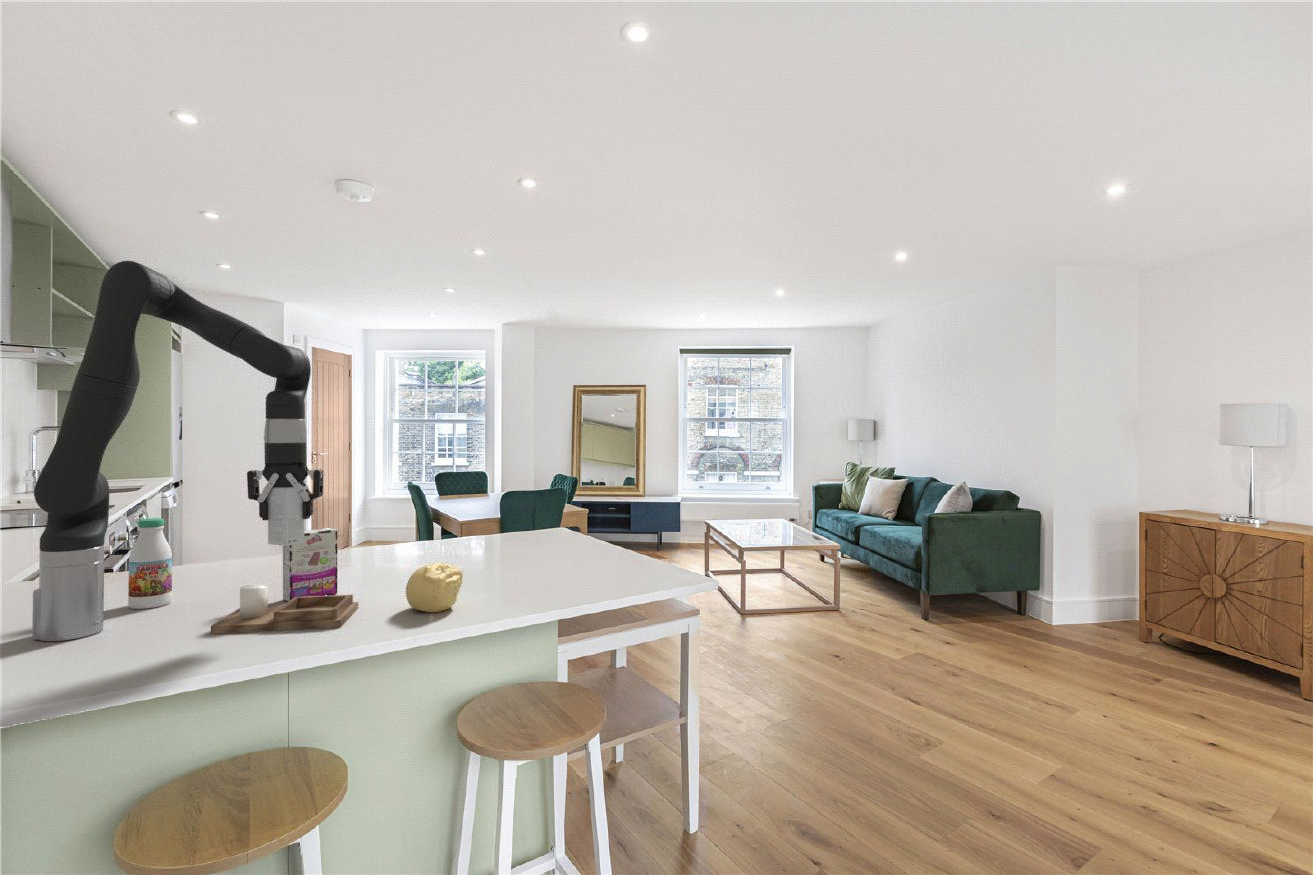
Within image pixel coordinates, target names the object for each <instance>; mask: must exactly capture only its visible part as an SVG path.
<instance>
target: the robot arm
mask: <svg viewBox="0 0 1313 875" xmlns="http://www.w3.org/2000/svg"><path fill="white" fill-rule="evenodd" d="M101 281H102V282H101V284H100V285H101V286H100V289H99V294H98V298H97V299H98V300H97V304H96V305H97V306H96V311H95V314H94V315H95V316H94V320H93V324H92V329H91V332H90V335H89V338H88V341H87V344H86V347H85V351H84V355H83V358H82V359H81V363H80V365H79V368H78V370H77V372H76V373H77V374H76V376H75V378H74V381H73V385H72V387H71V391H70V394H69V396H68V397H69V399H68V402H67V404H66V407H65V410H64V413H63V416H62V420H61V424H60V427H59V428H60V429H59V433H58V435H57V439H56V440H55V444H54V446H53V448H52V450H51V453H50V454H49V456H48V458H47V460H46V463H45V464H44V467H43V468H42V470H41V472H40V474H39V476H38V477H37V480H36V482H35V484H34V488H33V498H34V500H35V502H36V505H37V506H38V507H39V508H40V509H42V511H44V512H46V513H47V519H46V520H47V521H46V524H45V528H44V531H42V534H41V536H40V537H39V560H38V561H39V564H38V565H39V570H38V571H39V572H38V573H39V574H38V576H39V578H38V581H39V583H38V584H39V586H38V588H37V589H34V590H33V592H32V620H31V621H32V625H31V626H32V628H31V629H32V630H31V631H32V632H31V633H32V635H31V639H32V640H33V641H34V640H35V641H36V640H37V641H38V640H39V641H42V642H60V641H62V642H63V641H68V640H75V639H80V638H81V639H82V638H85V637H88V636H92V635H96V634H97V633H99V632H102V631H103V629H104V608H105V607H104V604H105V602H104V600H105V537H106V534H107V531H108V526H109V516H110V513H109V512H110V485H109V481H108V479H107V478H106V476H105V475H104V474H103V473H102V472H101V471H100V469H101V467H102V466H101V465H102V461H103V458H104V454H105V452H106V450H107V448H108V445H109V443H110V441H111V440H112V438H113V437H114V436H115V433H117V431H118V430H119V428H120V427H121V425H122V424H123V422H124V421H125V419H126V417H127V415H128V414H129V412H130V410H131V407H132V405H133V402H134V399H135V397H136V393H137V389H138V387H139V384H140V378H141V371H140V370H141V369H140V365H139V359H138V353H137V348H136V331H137V327H138V324H139V321H140V318H141V315H146V316H152V317H153V318H154V317H155V318H158V319H161V320H165V321H167V322H171V323H173V324H176V325H178V326H181V327H183V328H185V329H187V330H189V331H191V332H193V333H195V335H197V336H198V337H200V338H202V339H203V340H205V341H206V342H208V343H210V344H211V345H213V346H214V347H217V348H218V349H220V350H222V351H224V352H226V353H228V354H230V355H232V356H235V357H236V358H238V359H241V360H243V361H244V362H245V363H247V364H248V365H250V366H251V367H253V369H255V370H257V371H259V372H261V373H262V374H264V375H267V376H269V377H272V378H274V379H275V386H274V389H273V390H271V391H270V392H268V393H267V394H266V397H265V423H264V431H263V434H264V435H263V441H264V467H263V469H262V470H257V469H251V470H248V471H247V472H246V478H247V479H246V480H247V484H246V485H247V498H248V499H249V500H253V501H257V502H258V510H259V511H258V512H259V513H258V514H259V518H260V519H261V521H268V495H269V494H270V492H271V491H272V488H278V487H295V488H296V491H297V492H298V493H299V494H300V495H301V497H302V498H303V500H304V502H303V519H304V520H308V519H311V517H312V516H313V515H314V500H315V499H319V498H321V497H323V495H324V469H322V468H318V469H309V468H308V465H307V458H308V457H307V454H308V453H307V448H308V447H307V446H308V445H307V427H306V426H307V425H306V403H305V399H306V395H307V392H308V388H309V384H310V380H311V375H312V374H311V372H312V369H311V367H312V365H311V361H310V359H309V356H308V355H307V353H306V352H305V351H304V350H302V349H300V348H299V347H298V348H297V347H295V346H290V345H286V344H283V343H281V342H278V341H276V340H274V339H271V338H269V337H267V336H266V335H265V334H264V332H262V331H261V330H259V329H257V328H255V327H253V326H252V325H250V324H248V323H245V321H242V320H240V319H238V318H236V317H234V316H233V315H230V314H227V313H226V312H222V311H220V310H218V309H215V308H213V307H210V306H209V305H207V304H205V303H203V302H201V301H200V300H197V299H196V297H195V298H194V297H193V296H191V295H190V294H189V293H187V292H186V291H185V290H183V289H182V288H180V287H179V286H177V284H175V283H174V282H173V281H171V279H169V278H167V277H166V276H165V275H164V274H162V273H160V272H158V271H156V270H153V269H152V268H149V267H148V266H145V265H144V264H141V263H139V262H136V261H134V260H133V261H132V260H122V261H120V262H116V263H115V264H113V265H112V266H111V267H110V268H109V269H108V270H107V272H106V273H105V274H104V277H103V279H102V280H101ZM308 476H309V478H310V479H311V480H312V492H311V490H310V488H309V486H308V485H307V484H306V482H305V479H307V477H308ZM262 477H264V479H265V480H266V481H267V483H266V485H265V486H264V487H263V489H262V492H260V481H261V480H262Z"/></svg>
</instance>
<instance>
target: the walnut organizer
mask: <svg viewBox="0 0 1313 875" xmlns="http://www.w3.org/2000/svg"><path fill="white" fill-rule="evenodd" d="M239 588H240V589H239V607H238V609H235V610H234V611H233V612H231V613H230V614H228V615H226V616H225V617H223V618H221V619H220V620H218V621H216V622H215V623H213V624H212V625H211V626H210V635H211V634H229V633H231V634H233V633H252V632H255V633H256V632H273V631H290V630H291V631H292V630H294V631H295V630H296V631H297V630H310V629H311V630H314V629H315V630H316V629H317V630H318V629H335V628H336V629H337V628H341V627H343V626H344V625H345V623H346V622H347V621H348V620H349V619H350V618H351V617H352V616H353V615H354V613H356V611H357V610H358V609H359V601H353V599H354V596H353V595H354V594H333V595H327V596H300V597H294V598H293V599H291V600H290V601H289V602H287V601H286V603H284V604H273V605H272V604H271V605H269V603H268V602H269V600H268V599H269V585H268V584H266V583H254V584H247V585H244V586H241V587H239ZM352 614H353V615H352Z"/></svg>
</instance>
